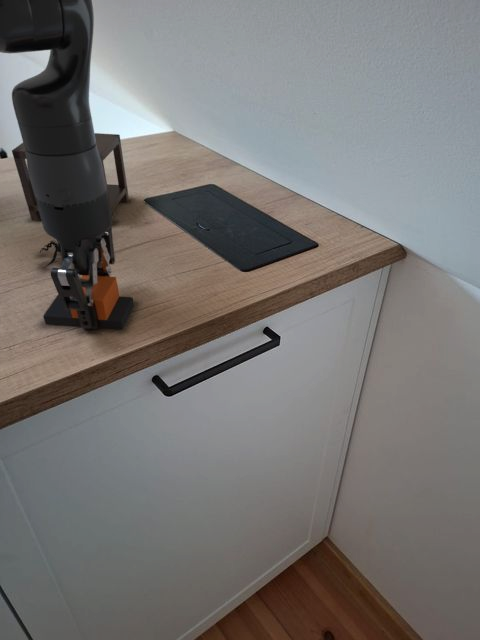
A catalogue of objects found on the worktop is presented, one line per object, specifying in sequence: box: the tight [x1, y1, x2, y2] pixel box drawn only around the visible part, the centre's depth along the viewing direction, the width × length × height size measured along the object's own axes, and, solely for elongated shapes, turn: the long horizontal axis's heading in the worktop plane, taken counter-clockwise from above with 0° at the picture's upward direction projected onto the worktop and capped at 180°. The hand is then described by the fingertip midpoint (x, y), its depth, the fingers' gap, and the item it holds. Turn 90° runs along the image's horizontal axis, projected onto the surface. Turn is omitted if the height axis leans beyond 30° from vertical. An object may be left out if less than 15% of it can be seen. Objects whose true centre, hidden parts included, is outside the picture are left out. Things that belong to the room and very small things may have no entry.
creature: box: [39, 239, 61, 269], centre depth 74 cm, size 8×5×8 cm
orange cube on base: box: [42, 275, 135, 331], centre depth 63 cm, size 10×6×4 cm, turn 86°
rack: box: [11, 132, 130, 227], centre depth 85 cm, size 14×11×12 cm
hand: (98, 312), depth 64 cm, fingers closed on orange cube on base, 5 cm apart
